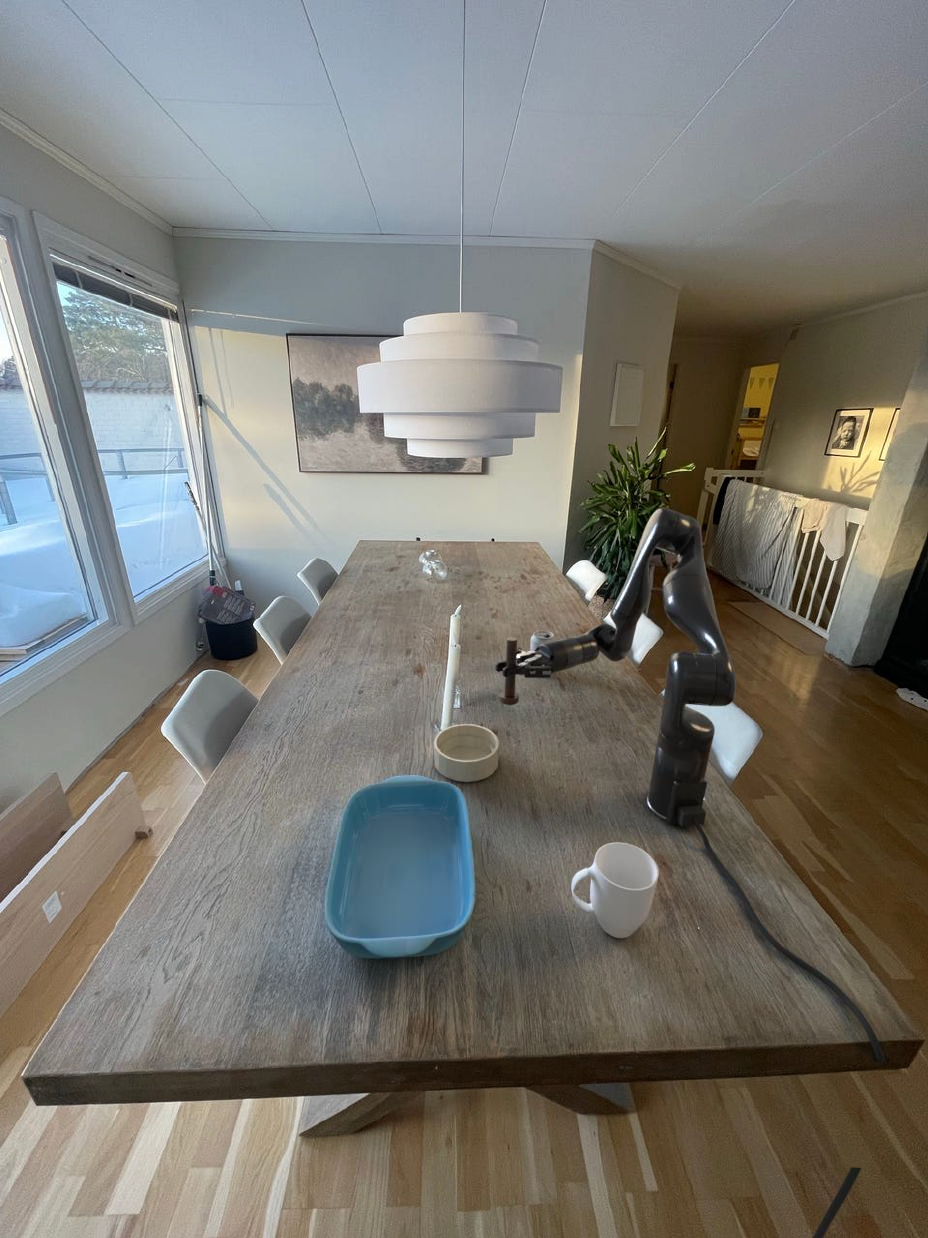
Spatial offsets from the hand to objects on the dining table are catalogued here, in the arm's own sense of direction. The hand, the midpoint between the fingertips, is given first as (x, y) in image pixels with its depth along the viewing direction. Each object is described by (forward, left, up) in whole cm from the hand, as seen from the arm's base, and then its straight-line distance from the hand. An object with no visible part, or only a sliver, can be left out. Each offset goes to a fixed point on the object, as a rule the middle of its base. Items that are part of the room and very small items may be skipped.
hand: (500, 670), depth 118 cm
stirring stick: (+1, -3, -9) cm, 9 cm away
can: (+33, -21, -18) cm, 43 cm away
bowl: (-9, +9, -18) cm, 22 cm away
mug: (-51, -6, -18) cm, 54 cm away
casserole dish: (-38, +24, -18) cm, 49 cm away
